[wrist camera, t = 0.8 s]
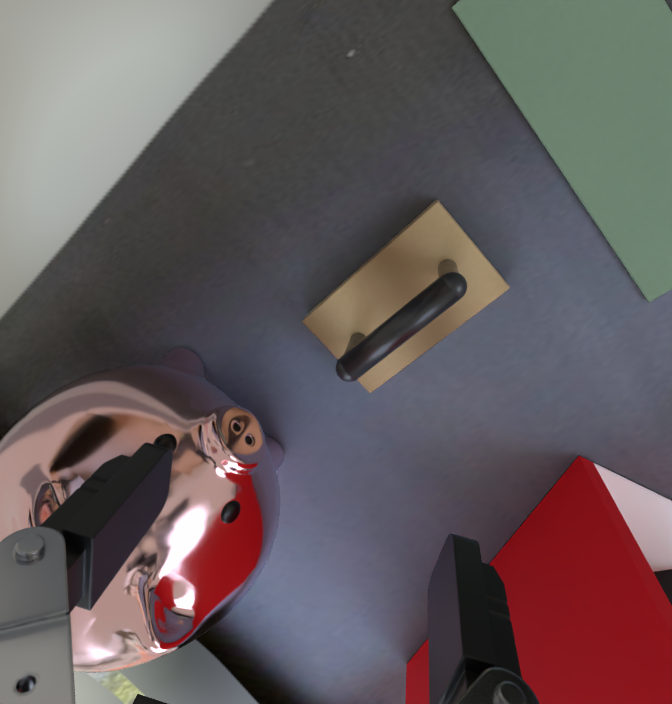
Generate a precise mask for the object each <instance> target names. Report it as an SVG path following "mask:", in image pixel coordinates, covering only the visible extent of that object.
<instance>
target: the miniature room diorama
mask: <svg viewBox="0 0 672 704" xmlns="http://www.w3.org/2000/svg"><path fill="white" fill-rule="evenodd" d="M489 565H491V566H494V568H495V570H496V571H497V573H498V575H499V576H500V578H501V580H502V581H503V583H504V586H505V591H506V596H507V605H508V607H509V612H510V620H511V623H512V628H513V633H514V639H515V644H516V649H517V654H518V660H519V665H520V670H521V675H522V679H523V680H524V681H525V682H526V683H527V684H528V685H529V686H530V688H531V689H532V690H533V692H534V693H535V695H536V697H537V699H538V701H539V703H540V704H672V501H671V500H669V499H667V498H665V497H663V496H661V495H659V494H657V493H655V492H653V491H651V490H649V489H646V488H644V487H642V486H640V485H638V484H636V483H634V482H632V481H630V480H628V479H626V478H624V477H622V476H620V475H618V474H616V473H614V472H612V471H610V470H608V469H606V468H603V467H601V466H599V465H597V464H595V463H593V462H591V461H589V460H587V459H585V458H583V457H581V456H578V457H577V458H576V460H575V461H574V462H573V463H572V465H571V466H570V467H569V468H568V469H567V471H566V472H565V473H564V474H563V475H562V477H561V478H560V479H559V480H558V481H557V483H556V484H555V485H554V486H553V488H552V489H551V490H550V491H549V492H548V494H547V495H546V496H545V497H544V498H543V500H542V501H541V502H540V503H539V505H538V506H537V507H536V508H535V509H534V511H533V512H532V513H531V514H530V515H529V517H528V518H527V519H526V520H525V521H524V523H523V524H522V525H521V526H520V528H519V529H518V530H517V531H516V532H515V534H514V535H513V536H512V537H511V538H510V540H509V541H508V542H507V543H506V545H505V546H504V547H503V548H502V549H501V551H500V552H499V553H498V554H497V555H496V557H495V558H494V559H493V560H492V561H491V563H490V564H489ZM406 704H429V640H428V639H427V640H426V641H425V643H424V644H423V645H422V646H421V648H420V649H419V650H418V651H417V652H416V654H415V655H414V656H413V657H412V658H411V660H410V661H409V662H408V663H407V672H406Z"/></svg>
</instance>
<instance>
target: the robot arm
mask: <svg viewBox="0 0 672 704" xmlns="http://www.w3.org/2000/svg"><path fill="white" fill-rule="evenodd" d="M172 459H173V451H172V450H171V449H168V448H165V447H161V446H158V445H155V444H151V443H148V442H146V443H144V444H143V445H142V446H141V447H140V448H139V449H138V450H137V451H136V452H135V453H134V454H133V455H132V456H131V457H129V456H125V455H122V454H121V455H119V456H117V457H115V458H113V459H111V460H109V461H107V462H105V463H103V464H102V465H101V466H100V467H99V468H98V469H97V470H96V471H95V472H94V473H93V474H92V475H91V477H90V478H88V479H87V480H86V481H85V482H84V483H83V484H82V485H81V487H80V488H78V489H77V490H76V491H75V492H74V493H73V494H72V495H71V496H70V497H68V498H67V499H66V500H65V501H64V502H63V503H62V504H61V505H60V506H59V507H58V508H57V509H56V510H55V511H54V512H53V513H52V514H51V515H50V516H49V517H48V518H47V519H46V520H45V521H44V522H43V523H42V524H41V525H40V526H39V527H29V528H24V529H21V530H18V531H16V532H14V533H12V534H10V535H9V536H7V537H6V538H4V539H3V540H2V541H1V542H0V704H75V689H74V669H73V651H72V633H71V617H70V613H71V612H72V610H73V609H74V608H75V606H77V607H80V608H83V609H86V610H89V611H90V610H91V609H92V608H93V606H94V605H95V604H96V602H97V601H98V599H99V598H100V597H101V595H102V594H103V592H104V591H105V590H106V588H107V587H108V585H109V584H110V583H111V581H112V580H113V579H114V577H115V576H116V574H117V573H118V572H119V570H120V569H121V567H122V566H123V565H124V563H125V562H126V560H127V559H128V558H129V556H130V555H131V553H132V552H133V551H134V549H135V548H136V547H137V545H138V544H139V542H140V541H141V540H142V538H143V537H144V535H145V534H146V533H147V531H148V530H149V528H150V527H151V526H152V524H153V523H154V522H155V520H156V519H157V517H158V516H159V515H160V513H161V511H162V510H163V508H164V505H165V503H166V500H167V497H168V493H169V485H170V477H171V468H172ZM428 640H429V704H540V703H539V701H538V699H537V697H536V695H535V693H534V692H533V690H532V689H531V688H530V686H529V685H528V684H527V683H526V682H525V681H524V680H523V679H522V675H521V670H520V665H519V660H518V654H517V649H516V644H515V639H514V633H513V628H512V623H511V620H510V612H509V607H508V605H507V596H506V591H505V586H504V583H503V581H502V580H501V578H500V576H499V575H498V573H497V571H496V570H495V568H494V566H491V565H488V564H484V563H482V561H481V554H480V547H479V543H478V541H476V540H473V539H469V538H466V537H462V536H459V535H456V534H452V533H450V534H449V535H448V537H447V539H446V541H445V544H444V546H443V548H442V551H441V553H440V555H439V558H438V560H437V563H436V565H435V567H434V570H433V572H432V575H431V579H430V583H429V589H428ZM133 704H167V703H163V702H161V701H158V700H155V699H152V698H149V697H145V696H142V695H139V694H137V696H136V698H135V700H134V702H133Z"/></svg>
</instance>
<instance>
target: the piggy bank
mask: <svg viewBox="0 0 672 704" xmlns="http://www.w3.org/2000/svg"><path fill="white" fill-rule="evenodd" d="M146 442H148V443H151V444H155V445H158V446H161V447H165V448H168V449H171V450H172V451H173V459H172V468H171V477H170V485H169V493H168V497H167V500H166V503H165V505H164V508H163V510H162V511H161V513H160V515H159V516H158V517H157V519H156V520H155V522H154V523H153V524H152V526H151V527H150V528H149V530H148V531H147V533H146V534H145V535H144V537H143V538H142V540H141V541H140V542H139V544H138V545H137V547H136V548H135V549H134V551H133V552H132V553H131V555H130V556H129V558H128V559H127V560H126V562H125V563H124V565H123V566H122V567H121V569H120V570H119V572H118V573H117V574H116V576H115V577H114V579H113V580H112V581H111V583H110V584H109V585H108V587H107V588H106V590H105V591H104V592H103V594H102V595H101V597H100V598H99V599H98V601H97V602H96V604H95V605H94V606H93V608H92V609H91V610H90V611H89V610H86V609H83V608H80V607H77V606H75V608H74V609H73V610H72V612H71V613H70V617H71V633H72V651H73V669H74V672H86V673H96V672H108V671H115V670H120V669H125V668H129V667H132V666H136V665H140V664H143V663H146V662H149V661H151V660H154V659H157V658H159V657H162V656H164V655H166V654H169V653H171V652H173V651H175V650H177V649H179V648H181V647H183V646H185V645H186V644H188V643H190V642H192V641H193V640H195V639H196V638H198V637H199V636H201V635H202V634H204V633H205V632H207V631H208V630H209V629H211V628H212V627H213V626H215V625H216V624H217V623H218V622H219V621H220V620H222V619H223V618H224V617H225V616H226V615H227V614H228V613H229V612H230V611H231V610H232V609H233V608H234V607H235V606H236V605H237V604H238V603H239V602H240V601H241V600H242V598H243V597H244V596H245V595H246V594H247V592H248V591H249V590H250V588H251V587H252V585H253V584H254V582H255V581H256V579H257V578H258V576H259V574H260V572H261V571H262V569H263V567H264V565H265V563H266V561H267V559H268V556H269V554H270V552H271V549H272V546H273V543H274V540H275V537H276V533H277V528H278V523H279V515H280V490H279V482H278V476H277V470H278V468H279V467H280V466H281V464H282V462H283V460H284V452H283V449H282V447H281V446H280V445H279V443H278V442H277V441H276V440H274V439H273V438H271V437H269V436H265V435H264V432H263V429H262V427H261V424H260V422H259V421H258V419H257V418H256V416H255V415H254V414H253V413H251V412H250V411H249V410H247V409H245V408H243V407H240V406H238V405H237V404H236V403H235V402H234V401H233V400H232V399H231V398H230V397H229V396H228V395H226V394H225V393H224V392H223V391H221V390H220V389H219V388H218V387H216V386H215V385H213V384H212V383H210V382H209V381H207V380H206V379H205V366H204V364H203V362H202V360H201V359H200V357H199V356H198V355H197V354H196V353H194V352H193V351H191V350H189V349H187V348H175V349H173V350H171V351H169V352H168V353H167V354H166V355H164V356H163V357H162V358H161V359H160V360H159V361H157V362H156V363H155V364H141V365H128V366H120V367H114V368H109V369H105V370H101V371H98V372H94V373H91V374H89V375H86V376H83V377H81V378H78V379H76V380H74V381H72V382H70V383H68V384H66V385H64V386H62V387H60V388H59V389H57V390H55V391H53V392H52V393H50V394H49V395H47V396H46V397H45V398H43V399H42V400H40V401H39V402H38V403H36V404H35V405H34V406H32V407H31V408H30V409H29V410H27V411H26V412H25V413H24V414H23V415H22V416H21V417H20V418H18V419H17V420H16V421H15V422H14V423H13V424H12V425H11V426H10V427H9V428H8V429H7V430H6V431H5V433H4V434H3V435H2V436H1V437H0V542H1V541H2V540H3V539H4V538H6V537H7V536H9V535H10V534H12V533H14V532H16V531H18V530H21V529H24V528H29V527H39V526H40V525H41V524H42V523H43V522H44V521H45V520H46V519H47V518H48V517H49V516H50V515H51V514H52V513H53V512H54V511H55V510H56V509H57V508H58V507H59V506H60V505H61V504H62V503H63V502H64V501H65V500H66V499H67V498H68V497H70V496H71V495H72V494H73V493H74V492H75V491H76V490H77V489H78V488H80V487H81V485H82V484H83V483H84V482H85V481H86V480H87V479H88V478H90V477H91V475H92V474H93V473H94V472H95V471H96V470H97V469H98V468H99V467H100V466H101V465H102V464H103V463H105V462H107V461H109V460H111V459H113V458H115V457H117V456H119V455H121V454H122V455H125V456H129V457H131V456H132V455H133V454H134V453H135V452H136V451H137V450H138V449H139V448H140V447H141V446H142V445H143V444H144V443H146Z"/></svg>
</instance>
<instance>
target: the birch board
mask: <svg viewBox="0 0 672 704" xmlns="http://www.w3.org/2000/svg"><path fill="white" fill-rule="evenodd" d="M509 288H510V287H509V285H508V284H507V282H506V281H505V279H504V278H503V277H502V276H501V275H500V273H499V272H498V271H497V270H496V269H495V267H494V266H493V265H492V264H491V263H490V261H489V260H488V259H487V258H486V257H485V255H484V254H483V253H482V252H481V251H480V249H479V248H478V247H477V246H476V244H475V243H474V242H473V241H472V240H471V238H470V237H469V236H468V235H467V234H466V232H465V231H464V230H463V229H462V228H461V226H460V225H459V224H458V223H457V222H456V220H455V219H454V218H453V217H452V216H451V214H450V213H449V212H448V211H447V210H446V208H445V207H444V206H443V205H442V204H441V202H440V201H439V200H438V199H436V200H435V201H434V202H433V203H432V204H431V205H429V206H428V207H427V208H426V209H425V210H424V211H423V212H422V213H420V214H419V215H418V216H417V217H416V218H415V219H414V220H413V221H411V222H410V223H409V224H408V225H407V226H406V227H405V228H403V229H402V230H401V231H400V232H399V233H398V234H397V235H396V236H394V237H393V238H392V239H391V240H390V241H389V242H388V243H387V244H385V245H384V246H383V247H382V248H381V249H380V250H379V251H378V252H376V253H375V254H374V255H373V256H372V257H371V258H370V259H369V260H367V261H366V262H365V263H364V264H363V265H362V266H361V267H359V268H358V269H357V270H356V271H355V272H354V273H353V274H352V275H350V276H349V277H348V278H347V279H346V280H345V281H344V282H343V283H341V284H340V285H339V286H338V287H337V288H336V289H335V290H334V291H332V292H331V293H330V294H329V295H328V296H327V297H326V298H325V299H323V300H322V301H321V302H320V303H319V304H318V305H317V306H315V307H314V308H313V309H312V310H311V311H310V312H309V313H308V314H307V315H306V316H305V318H304V319H303V321H302V322H303V323H304V324H305V325H306V326H307V327H308V328H309V329H310V331H311V332H312V333H313V334H314V335H315V336H316V337H317V338H318V339H319V340H320V341H321V342H322V343H323V344H324V345H325V346H326V347H327V349H328V350H329V351H330V352H331V353H332V354H333V355H334V356H335V357H336V358H337V359H338V361H337V363H336V372H337V375H338V376H339V377H340V378H341V379H342V380H344V381H348V382H351V381H355V380H358V381H359V382H360V383H361V384H362V386H363V387H364V388H365V389H366V390H367V391H368V392H369V393H371V392H373V391H374V390H375V389H377V388H378V387H379V386H381V385H382V384H383V383H385V382H386V381H387V380H389V379H390V378H391V377H393V376H394V375H395V374H397V373H398V372H399V371H401V370H402V369H403V368H405V367H406V366H407V365H409V364H410V363H411V362H413V361H414V360H415V359H417V358H418V357H419V356H421V355H422V354H423V353H425V352H426V351H427V350H429V349H430V348H431V347H433V346H434V345H435V344H437V343H438V342H439V341H441V340H442V339H443V338H444V337H446V336H447V335H448V334H450V333H451V332H452V331H454V330H455V329H456V328H458V327H459V326H460V325H462V324H463V323H464V322H466V321H467V320H468V319H470V318H471V317H472V316H474V315H475V314H476V313H478V312H479V311H480V310H482V309H483V308H484V307H486V306H487V305H488V304H490V303H491V302H492V301H494V300H495V299H496V298H498V297H499V296H500V295H502V294H503V293H504V292H506V291H507V290H508V289H509Z"/></svg>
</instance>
